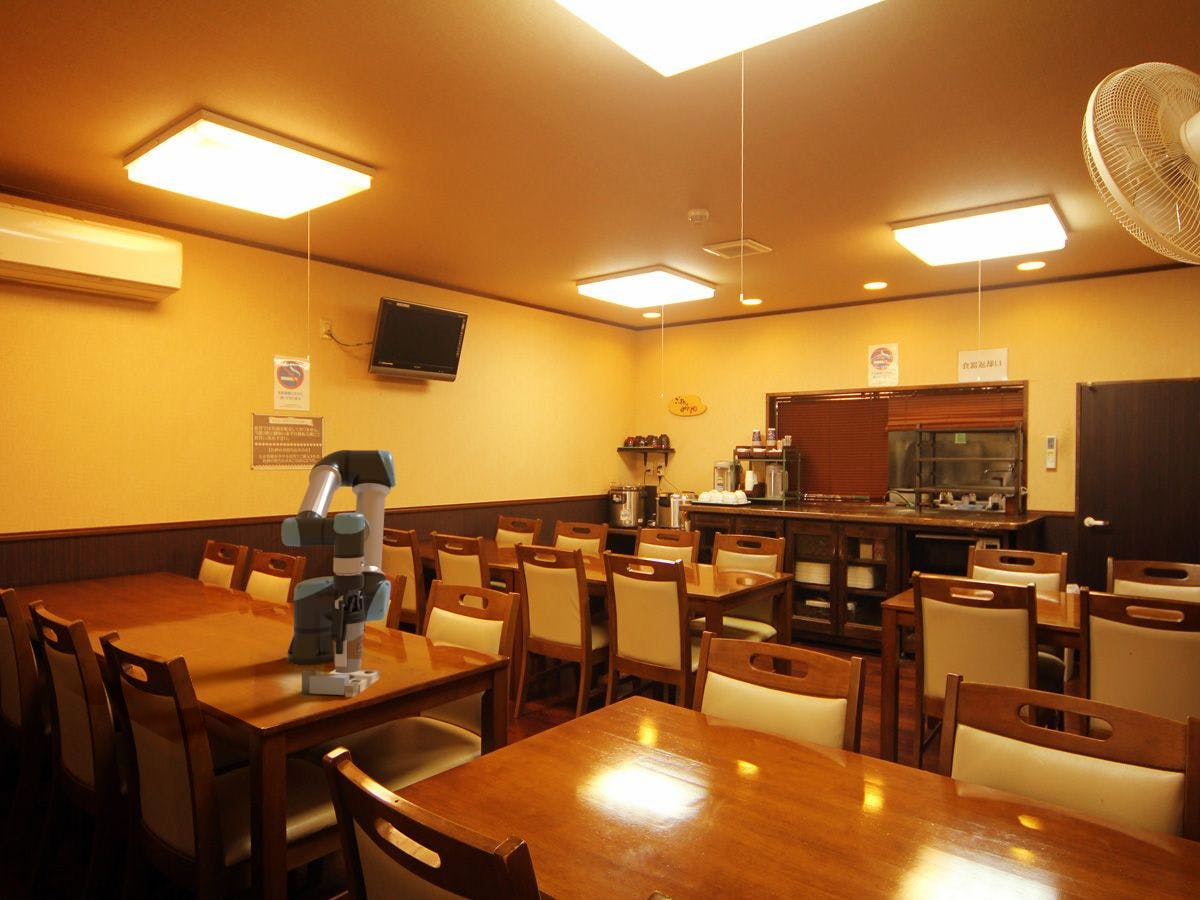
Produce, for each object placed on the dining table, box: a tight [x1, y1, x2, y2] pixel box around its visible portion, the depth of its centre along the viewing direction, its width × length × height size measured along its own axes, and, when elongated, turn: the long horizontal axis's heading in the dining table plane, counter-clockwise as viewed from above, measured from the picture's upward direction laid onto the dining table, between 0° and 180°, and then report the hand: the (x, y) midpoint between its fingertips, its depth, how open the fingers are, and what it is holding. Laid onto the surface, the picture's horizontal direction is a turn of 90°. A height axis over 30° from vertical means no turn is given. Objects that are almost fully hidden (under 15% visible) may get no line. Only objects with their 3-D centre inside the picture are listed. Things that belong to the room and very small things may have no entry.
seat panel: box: [298, 668, 381, 698], centre depth 192 cm, size 16×15×3 cm
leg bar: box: [301, 669, 349, 696], centre depth 187 cm, size 12×3×5 cm, turn 83°
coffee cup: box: [331, 609, 366, 673], centre depth 194 cm, size 8×8×15 cm
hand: (348, 661), depth 194 cm, fingers closed on coffee cup, 7 cm apart
